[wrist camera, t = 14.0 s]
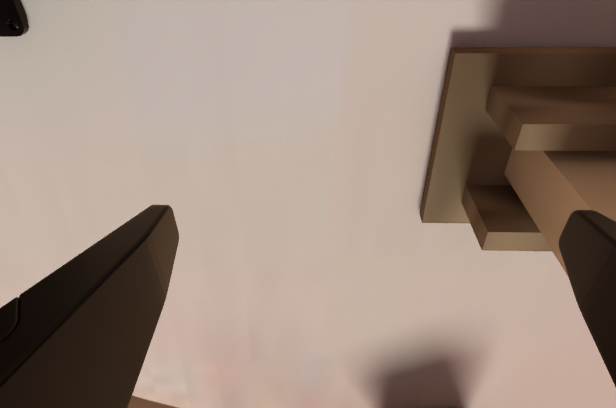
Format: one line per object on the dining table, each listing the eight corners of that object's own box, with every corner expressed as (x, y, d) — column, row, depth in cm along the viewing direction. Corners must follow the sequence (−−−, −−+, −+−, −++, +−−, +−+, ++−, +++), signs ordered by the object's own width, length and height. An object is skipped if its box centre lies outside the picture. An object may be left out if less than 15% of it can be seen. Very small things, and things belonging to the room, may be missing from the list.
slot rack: (419, 214, 26) (436, 271, 22) (451, 48, 20) (481, 86, 16) (653, 217, 25) (712, 275, 22) (759, 47, 19) (866, 87, 16)
